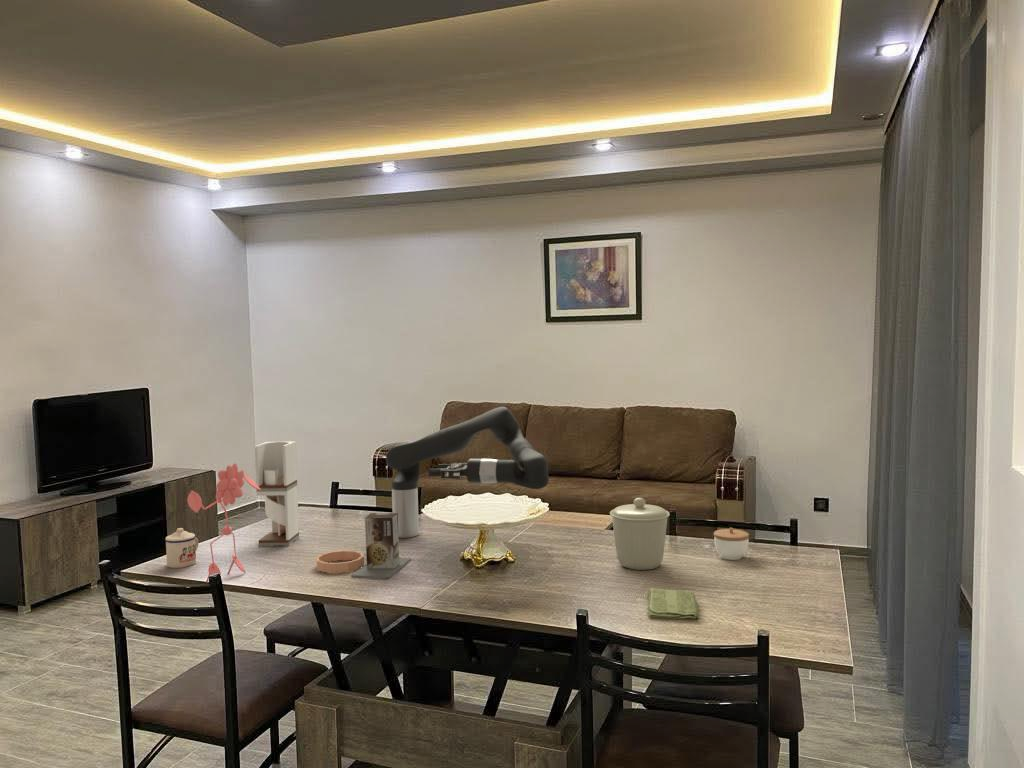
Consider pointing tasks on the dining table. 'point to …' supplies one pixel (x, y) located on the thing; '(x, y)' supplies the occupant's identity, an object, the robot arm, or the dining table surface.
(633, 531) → the canister
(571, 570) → the dining table surface
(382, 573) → the rubber mat
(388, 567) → the printed cardboard box
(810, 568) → the dining table surface
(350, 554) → the terracotta ring
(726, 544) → the lidded jar
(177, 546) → the teacup with lid
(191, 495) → the pink flower stick figure
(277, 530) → the display case
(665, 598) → the washcloth
